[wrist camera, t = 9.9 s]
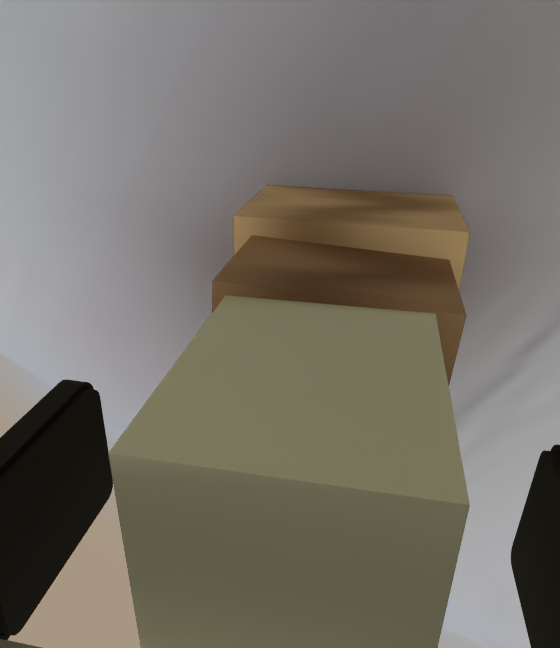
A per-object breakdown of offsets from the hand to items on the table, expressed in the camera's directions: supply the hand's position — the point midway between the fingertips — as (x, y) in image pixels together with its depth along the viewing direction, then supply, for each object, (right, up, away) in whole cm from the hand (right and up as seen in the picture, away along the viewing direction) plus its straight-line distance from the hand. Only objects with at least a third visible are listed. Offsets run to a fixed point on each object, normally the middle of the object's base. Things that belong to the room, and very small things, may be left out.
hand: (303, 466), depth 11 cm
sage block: (+1, +1, +2) cm, 3 cm away
